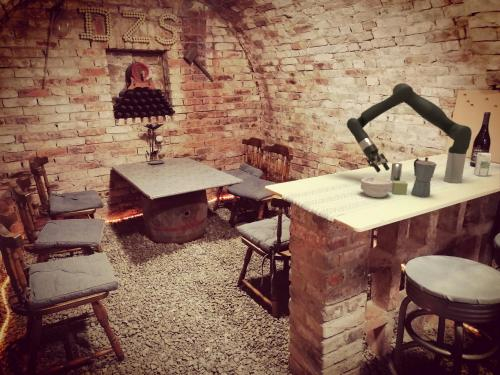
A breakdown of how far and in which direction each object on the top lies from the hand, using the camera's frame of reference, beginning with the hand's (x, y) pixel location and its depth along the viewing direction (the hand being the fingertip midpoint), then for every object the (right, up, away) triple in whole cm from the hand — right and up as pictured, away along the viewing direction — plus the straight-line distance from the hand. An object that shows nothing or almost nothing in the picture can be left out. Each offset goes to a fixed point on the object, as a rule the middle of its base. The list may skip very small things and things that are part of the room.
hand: (383, 170), depth 197 cm
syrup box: (+73, -2, +29) cm, 79 cm away
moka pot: (+13, -13, -14) cm, 23 cm away
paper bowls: (-10, -14, -15) cm, 22 cm away
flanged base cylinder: (+5, -10, -3) cm, 12 cm away
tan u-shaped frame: (+4, -11, -6) cm, 13 cm away
